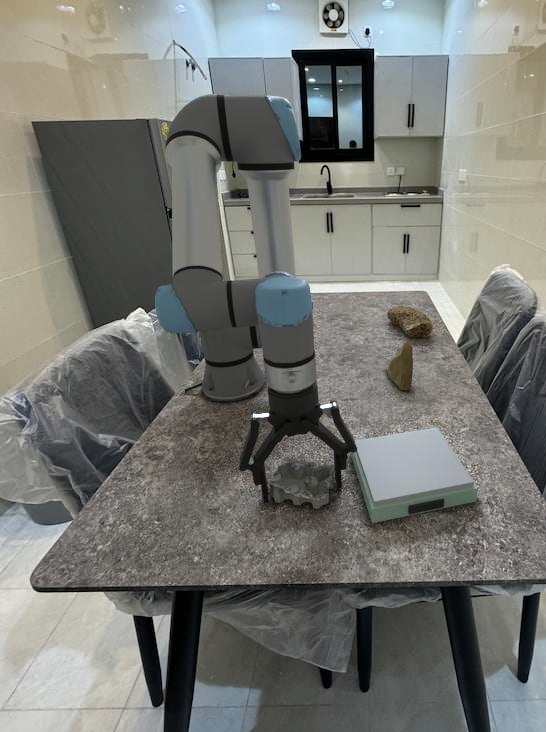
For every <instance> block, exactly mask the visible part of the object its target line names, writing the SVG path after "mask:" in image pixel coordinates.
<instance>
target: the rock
mask: <svg viewBox="0 0 546 732" xmlns="http://www.w3.org/2000/svg"><path fill="white" fill-rule="evenodd" d="M413 350H414V349H413V345H412V344H411V343H409V342H407V341H405V342H404V343H403V344H402V345H401V346H400V348H399V349H398V350H397V351H396V353H395V356H394V357H393V358H392V359H391V361H390V362H389V364H388V368H387V369H386V373H387V377H388V379H390V381H391V382H393V383H394V384H395V385H396V386H397V387H398V388H399V390H401V391H410V390H411V387H412V383H413V374H414V370H413V369H414V358H413V357H414V355H413V354H414V353H413V352H414V351H413Z"/></svg>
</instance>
